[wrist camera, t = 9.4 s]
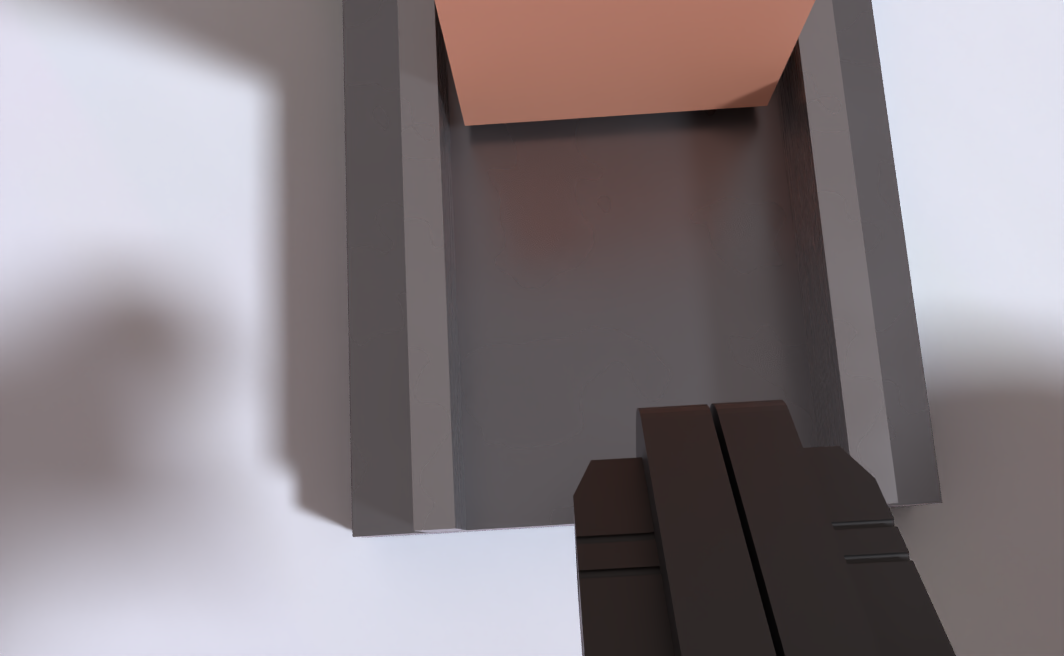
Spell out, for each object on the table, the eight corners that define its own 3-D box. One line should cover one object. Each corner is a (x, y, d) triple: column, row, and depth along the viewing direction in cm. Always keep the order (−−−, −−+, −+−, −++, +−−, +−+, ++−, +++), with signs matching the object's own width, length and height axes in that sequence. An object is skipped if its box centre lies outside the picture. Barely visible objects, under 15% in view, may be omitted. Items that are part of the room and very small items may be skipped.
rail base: (914, 505, 20) (1026, 492, 15) (367, 537, 20) (305, 534, 15) (814, -236, 24) (878, -437, 19) (352, -202, 24) (297, -392, 19)
